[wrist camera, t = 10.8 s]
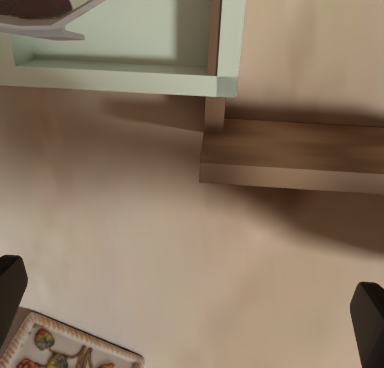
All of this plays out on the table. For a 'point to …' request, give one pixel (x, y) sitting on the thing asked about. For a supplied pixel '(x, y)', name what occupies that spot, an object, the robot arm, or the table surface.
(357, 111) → the table surface
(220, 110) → the wooden pieces
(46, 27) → the food container
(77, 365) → the decorative jar
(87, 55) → the tray
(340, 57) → the table surface
